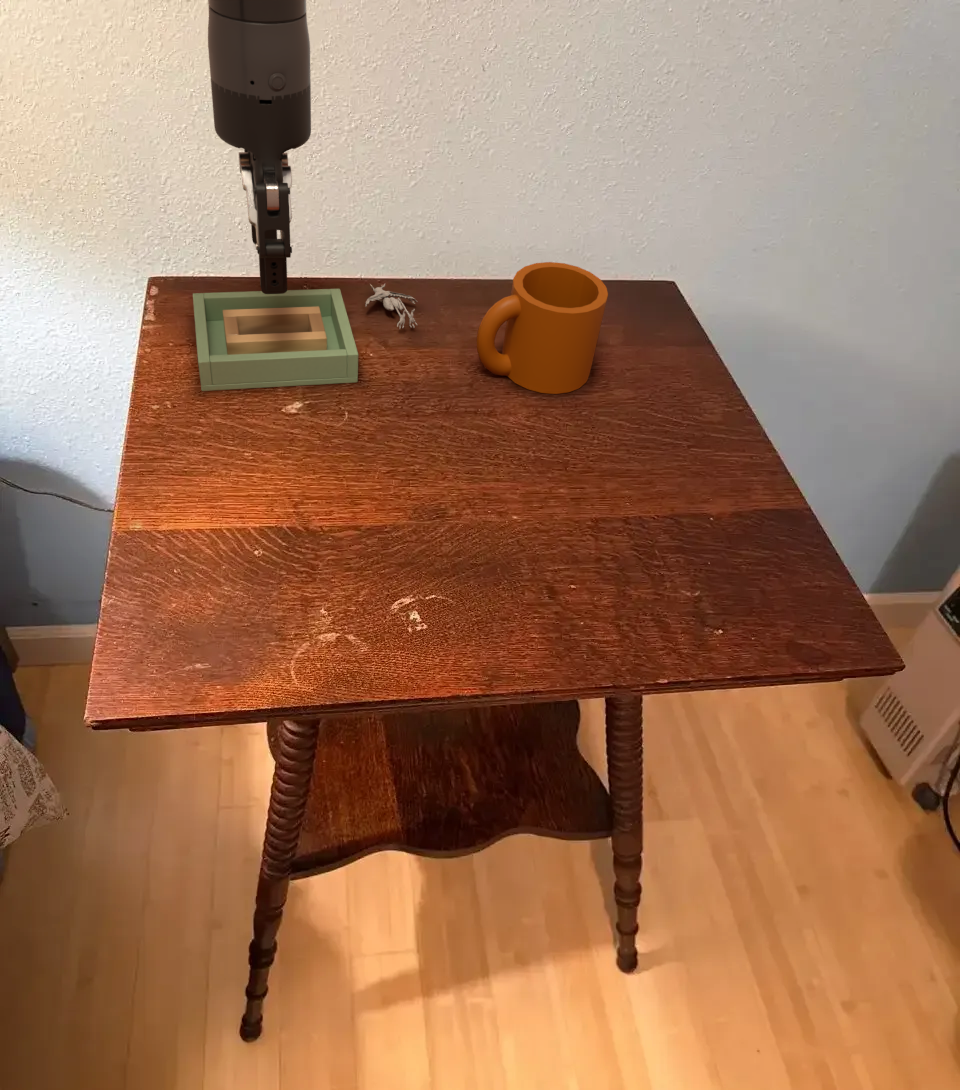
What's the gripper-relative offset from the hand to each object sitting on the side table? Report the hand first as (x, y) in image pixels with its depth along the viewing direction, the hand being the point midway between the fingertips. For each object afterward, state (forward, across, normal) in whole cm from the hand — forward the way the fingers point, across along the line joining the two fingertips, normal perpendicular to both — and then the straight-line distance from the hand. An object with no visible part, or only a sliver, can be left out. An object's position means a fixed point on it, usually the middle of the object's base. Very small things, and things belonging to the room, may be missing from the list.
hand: (269, 267), depth 84 cm
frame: (+8, 0, 0) cm, 8 cm away
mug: (+9, +5, +24) cm, 26 cm away
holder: (+9, 0, 0) cm, 9 cm away
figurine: (+9, -5, +14) cm, 18 cm away
